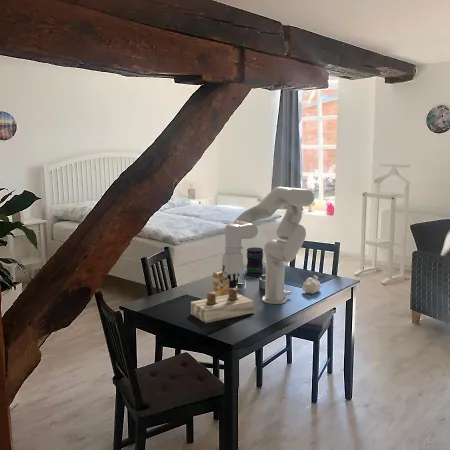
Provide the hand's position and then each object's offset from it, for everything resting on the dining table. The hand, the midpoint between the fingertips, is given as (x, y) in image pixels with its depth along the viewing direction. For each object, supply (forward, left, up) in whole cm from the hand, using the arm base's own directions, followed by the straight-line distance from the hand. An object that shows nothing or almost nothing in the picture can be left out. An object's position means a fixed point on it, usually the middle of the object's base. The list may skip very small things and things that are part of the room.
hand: (232, 287), depth 247 cm
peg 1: (+12, 0, -7) cm, 14 cm away
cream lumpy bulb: (-52, -2, -12) cm, 54 cm away
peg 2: (0, 0, -7) cm, 7 cm away
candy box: (-4, -17, -12) cm, 21 cm away
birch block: (+6, 0, -12) cm, 13 cm away
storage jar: (-49, -50, -12) cm, 71 cm away
